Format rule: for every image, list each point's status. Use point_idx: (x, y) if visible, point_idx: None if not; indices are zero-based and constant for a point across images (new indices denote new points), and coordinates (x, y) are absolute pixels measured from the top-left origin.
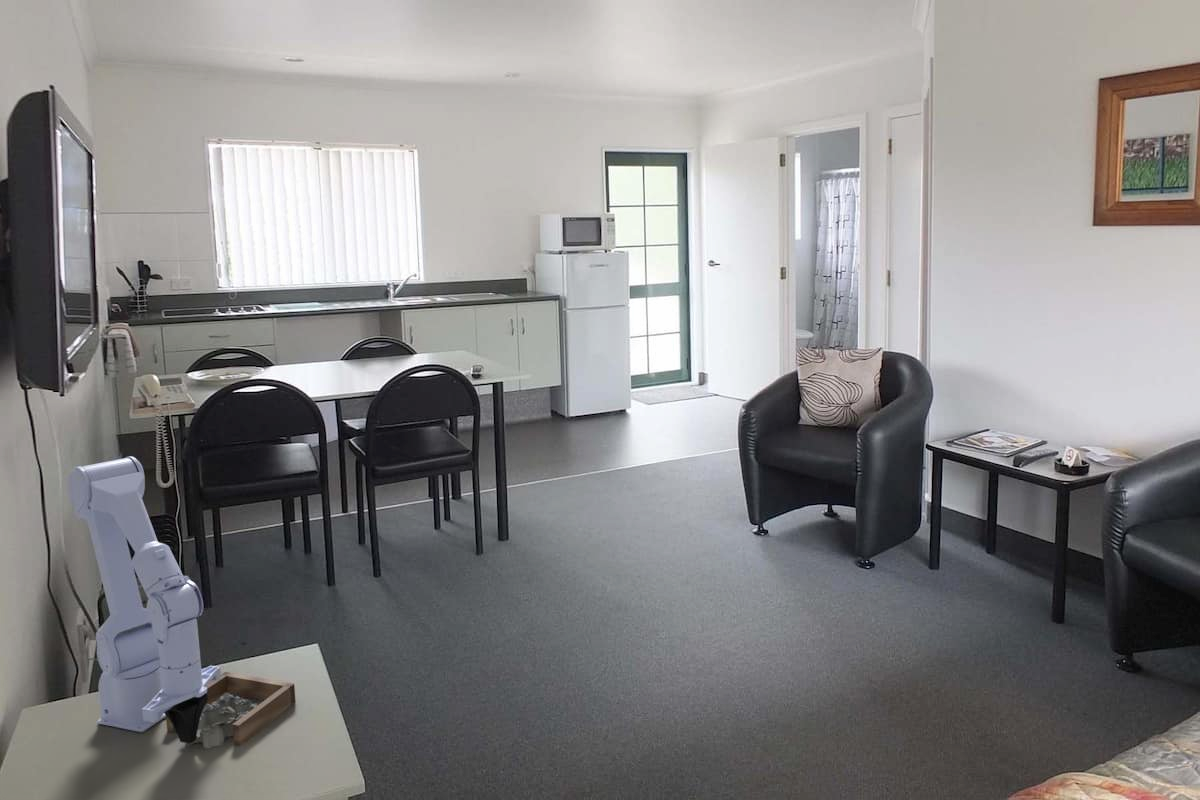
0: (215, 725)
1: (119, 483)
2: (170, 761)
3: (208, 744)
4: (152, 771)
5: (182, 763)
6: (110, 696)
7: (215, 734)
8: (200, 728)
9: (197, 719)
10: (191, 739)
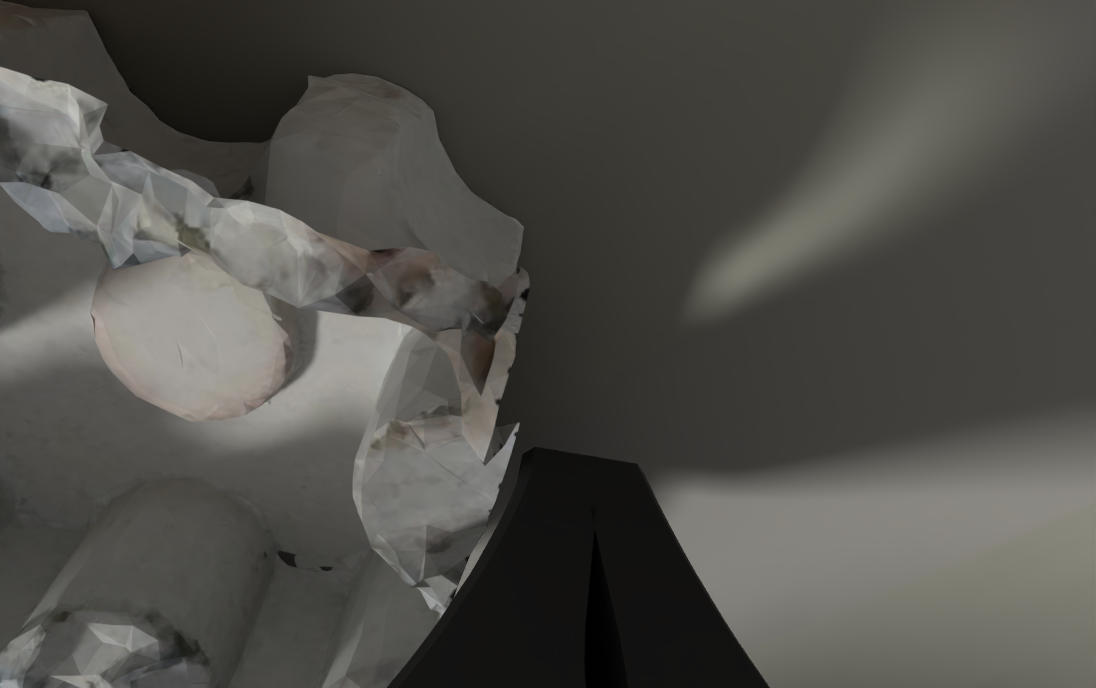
0: (392, 255)
1: None
2: (853, 512)
3: (507, 240)
4: (1060, 585)
5: (904, 361)
6: None
7: (410, 203)
8: (188, 535)
9: (520, 668)
10: (639, 488)
